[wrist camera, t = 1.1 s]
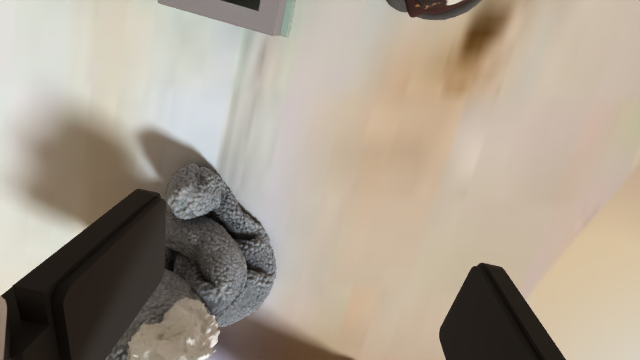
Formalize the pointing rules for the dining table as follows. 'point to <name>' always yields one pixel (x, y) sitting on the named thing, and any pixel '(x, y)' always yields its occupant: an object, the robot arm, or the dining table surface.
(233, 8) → the board
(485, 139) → the dining table surface
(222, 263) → the koala plush
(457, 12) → the sundae
